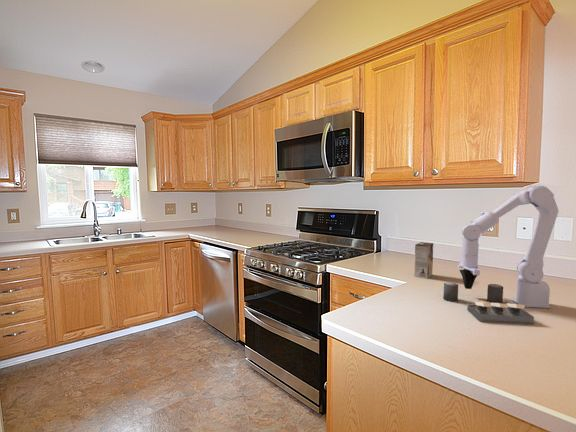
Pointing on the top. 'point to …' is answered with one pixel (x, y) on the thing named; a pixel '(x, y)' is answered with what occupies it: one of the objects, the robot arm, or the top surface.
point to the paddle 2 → (516, 305)
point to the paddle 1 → (483, 304)
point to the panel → (500, 314)
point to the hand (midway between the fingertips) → (468, 288)
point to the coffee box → (423, 260)
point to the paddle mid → (499, 305)
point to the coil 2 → (495, 293)
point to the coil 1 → (450, 292)
